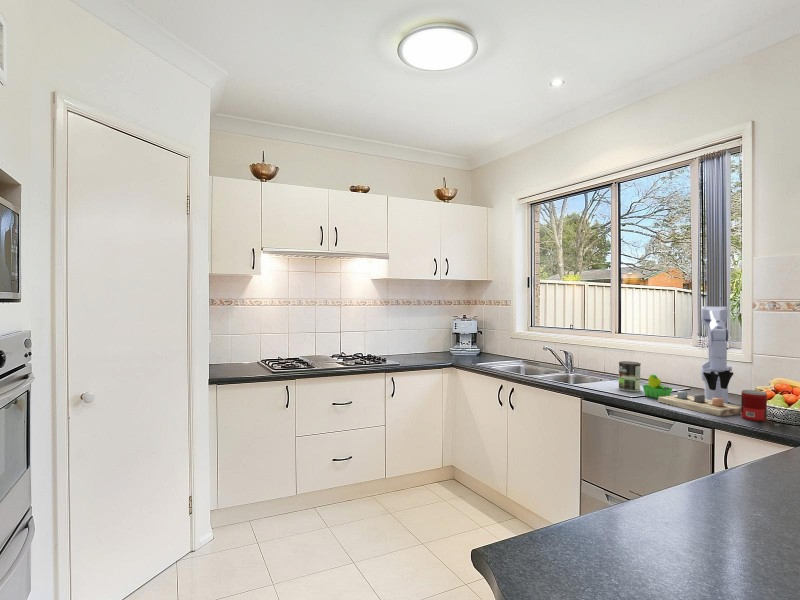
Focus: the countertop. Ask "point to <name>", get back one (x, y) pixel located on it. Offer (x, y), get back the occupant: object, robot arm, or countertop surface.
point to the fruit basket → (656, 388)
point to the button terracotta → (718, 402)
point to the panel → (701, 406)
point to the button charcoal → (699, 398)
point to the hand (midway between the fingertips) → (718, 389)
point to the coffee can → (629, 376)
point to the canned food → (754, 405)
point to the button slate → (682, 395)
